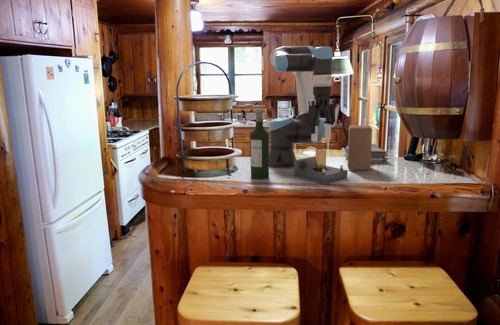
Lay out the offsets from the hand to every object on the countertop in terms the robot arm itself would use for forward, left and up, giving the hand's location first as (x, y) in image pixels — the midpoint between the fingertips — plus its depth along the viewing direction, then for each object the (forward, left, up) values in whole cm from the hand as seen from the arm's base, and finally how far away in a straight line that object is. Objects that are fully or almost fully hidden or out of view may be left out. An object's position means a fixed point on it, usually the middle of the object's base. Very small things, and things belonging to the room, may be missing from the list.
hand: (321, 140), depth 169 cm
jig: (0, 0, -16) cm, 16 cm away
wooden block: (0, +26, -16) cm, 31 cm away
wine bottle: (-17, -20, -16) cm, 31 cm away
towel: (-10, +44, -17) cm, 48 cm away
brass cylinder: (0, 0, -16) cm, 16 cm away
